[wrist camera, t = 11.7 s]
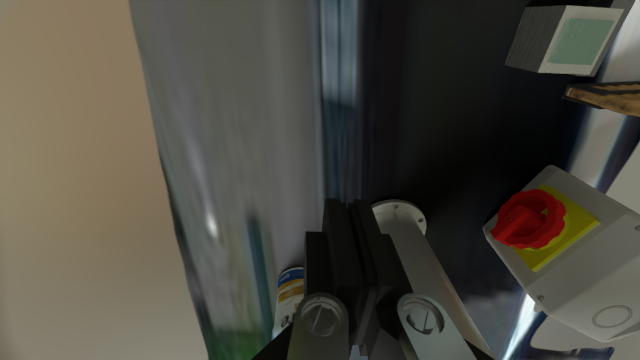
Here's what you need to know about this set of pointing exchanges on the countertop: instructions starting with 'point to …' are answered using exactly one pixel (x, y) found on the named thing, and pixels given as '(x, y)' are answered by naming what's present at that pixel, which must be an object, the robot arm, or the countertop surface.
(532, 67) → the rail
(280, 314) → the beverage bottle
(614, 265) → the electrical switch box
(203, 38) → the countertop surface
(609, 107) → the ammunition clip
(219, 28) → the countertop surface
